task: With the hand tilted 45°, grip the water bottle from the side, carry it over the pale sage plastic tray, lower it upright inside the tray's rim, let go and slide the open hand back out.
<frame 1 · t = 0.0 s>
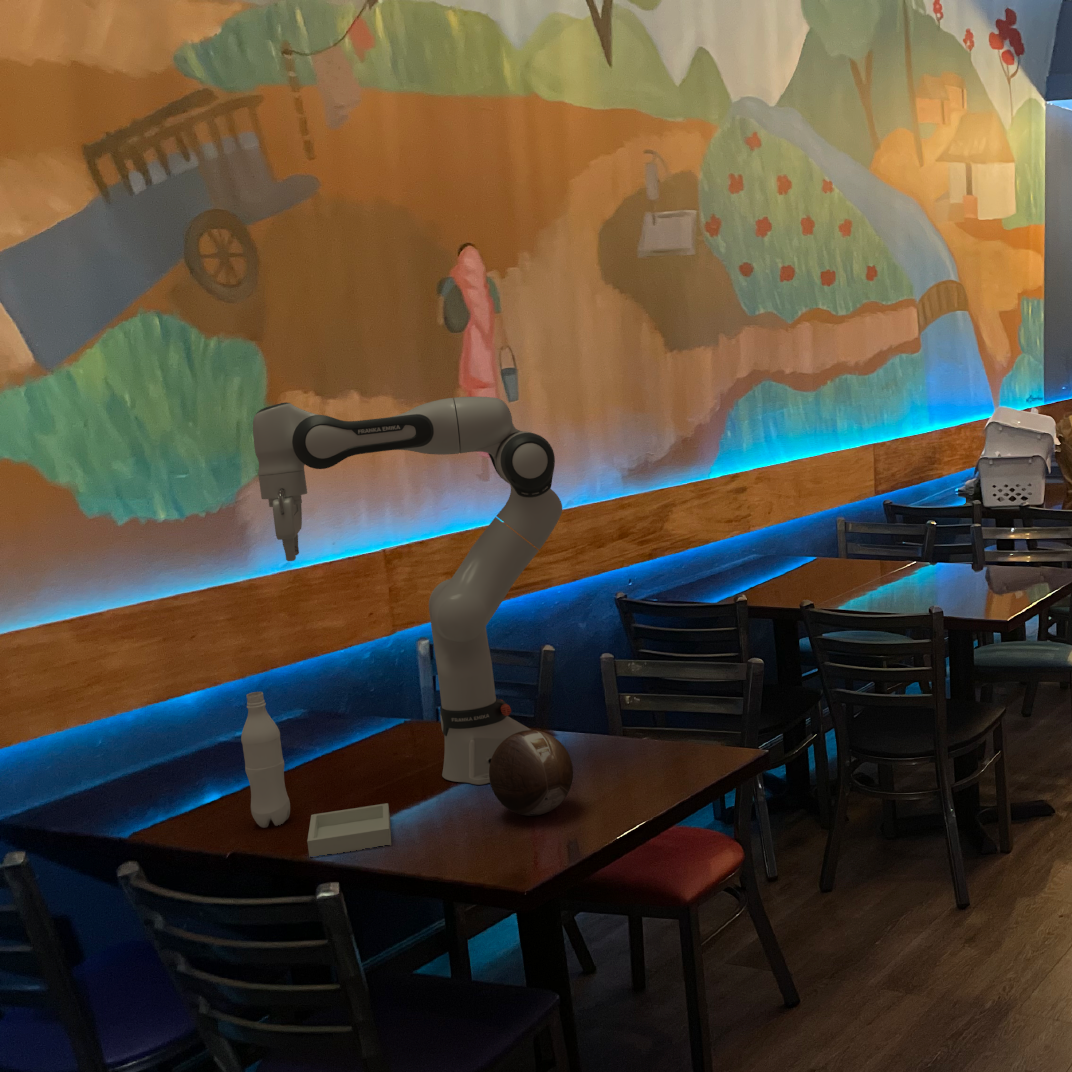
hand: (293, 557, 236), 48 cm above the table, tool pointing down, fingers open, 8 cm apart
water bottle: (273, 824, 228), on the table
tray: (351, 837, 215), on the table
wooden sphere: (535, 814, 217), on the table
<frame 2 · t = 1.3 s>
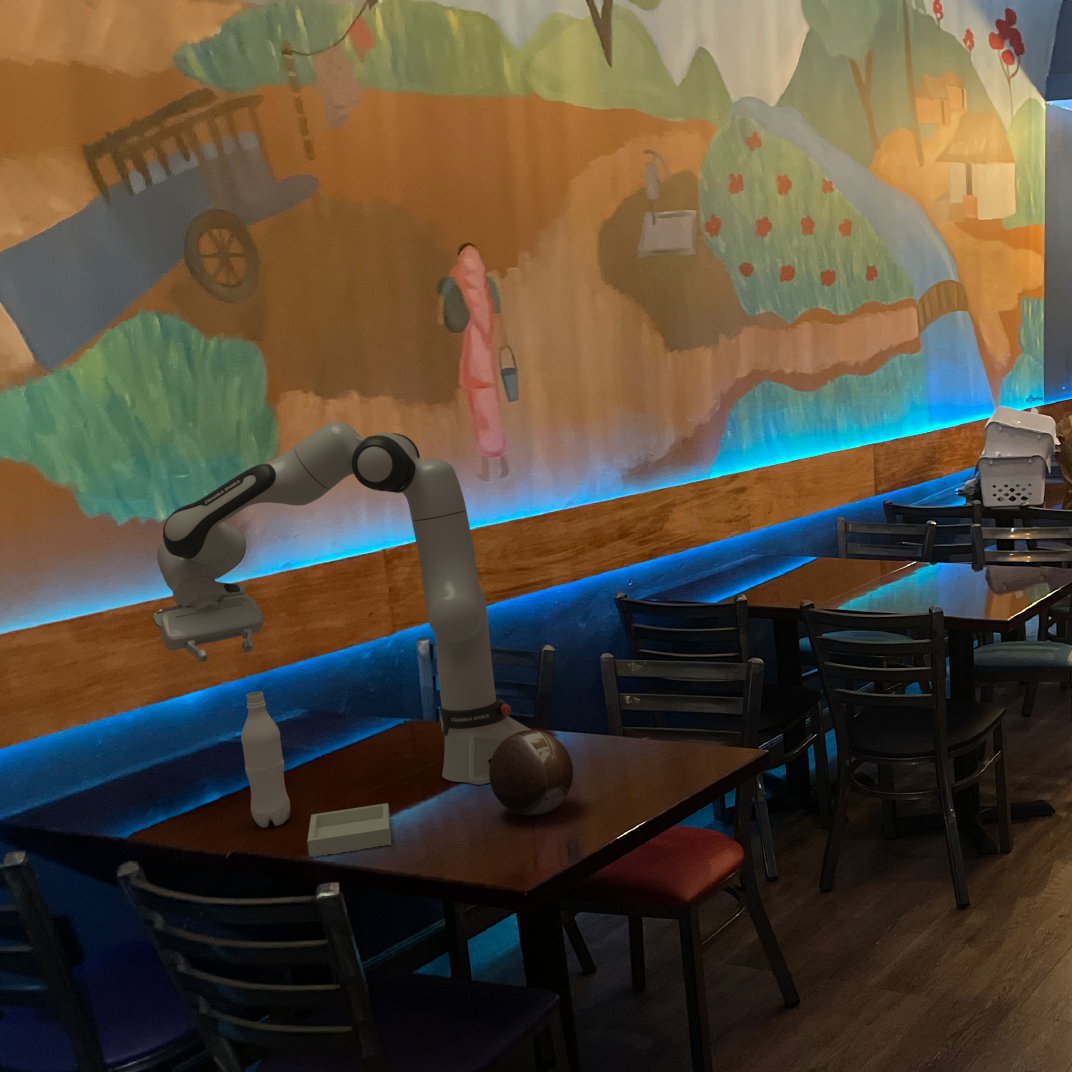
hand: (226, 654, 236), 31 cm above the table, tool tilted 45°, fingers open, 8 cm apart
nothing on the table moved.
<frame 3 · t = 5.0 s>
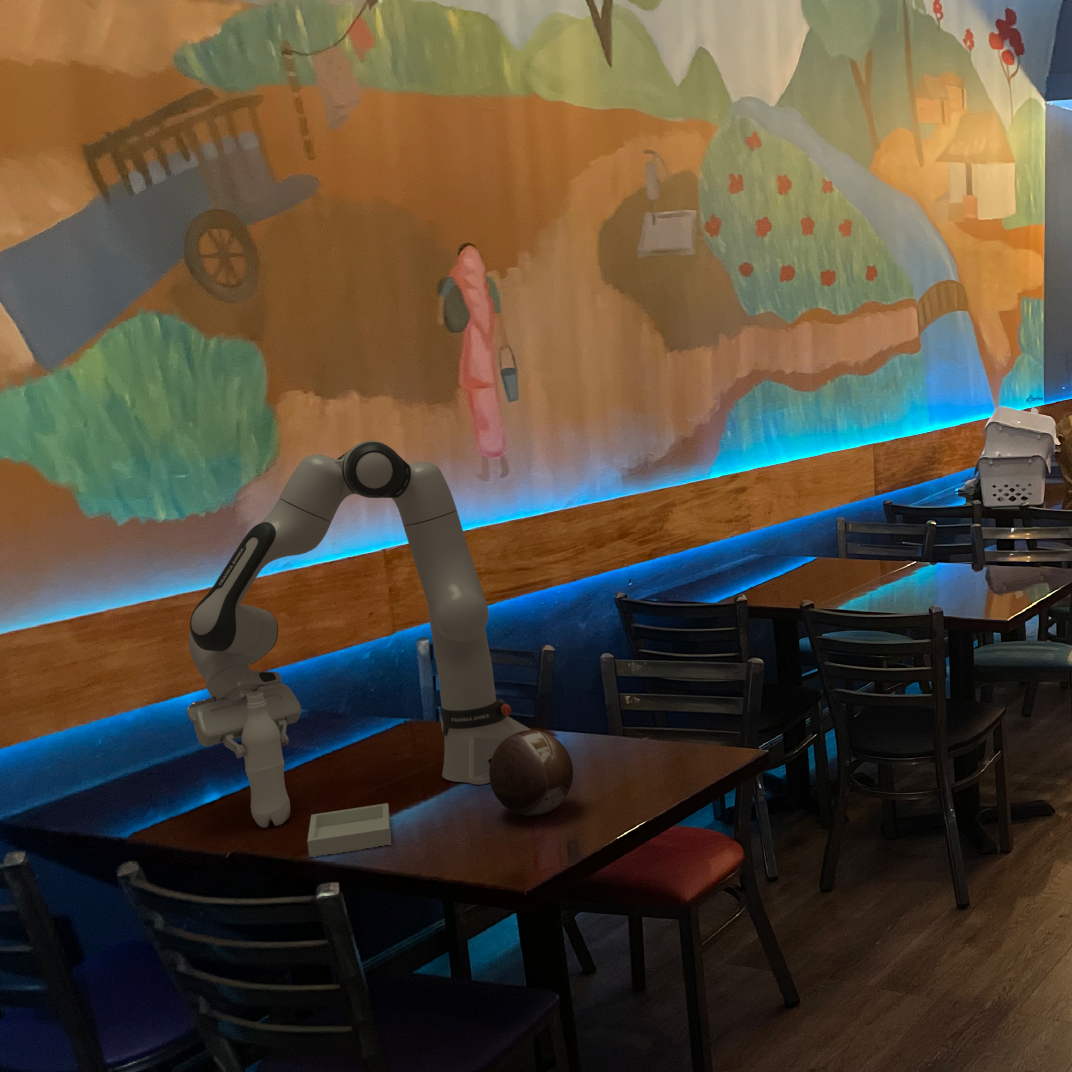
hand: (263, 749, 225), 14 cm above the table, tool tilted 45°, fingers closed on water bottle, 7 cm apart
water bottle: (273, 824, 228), on the table, touching gripper
everything else where it was.
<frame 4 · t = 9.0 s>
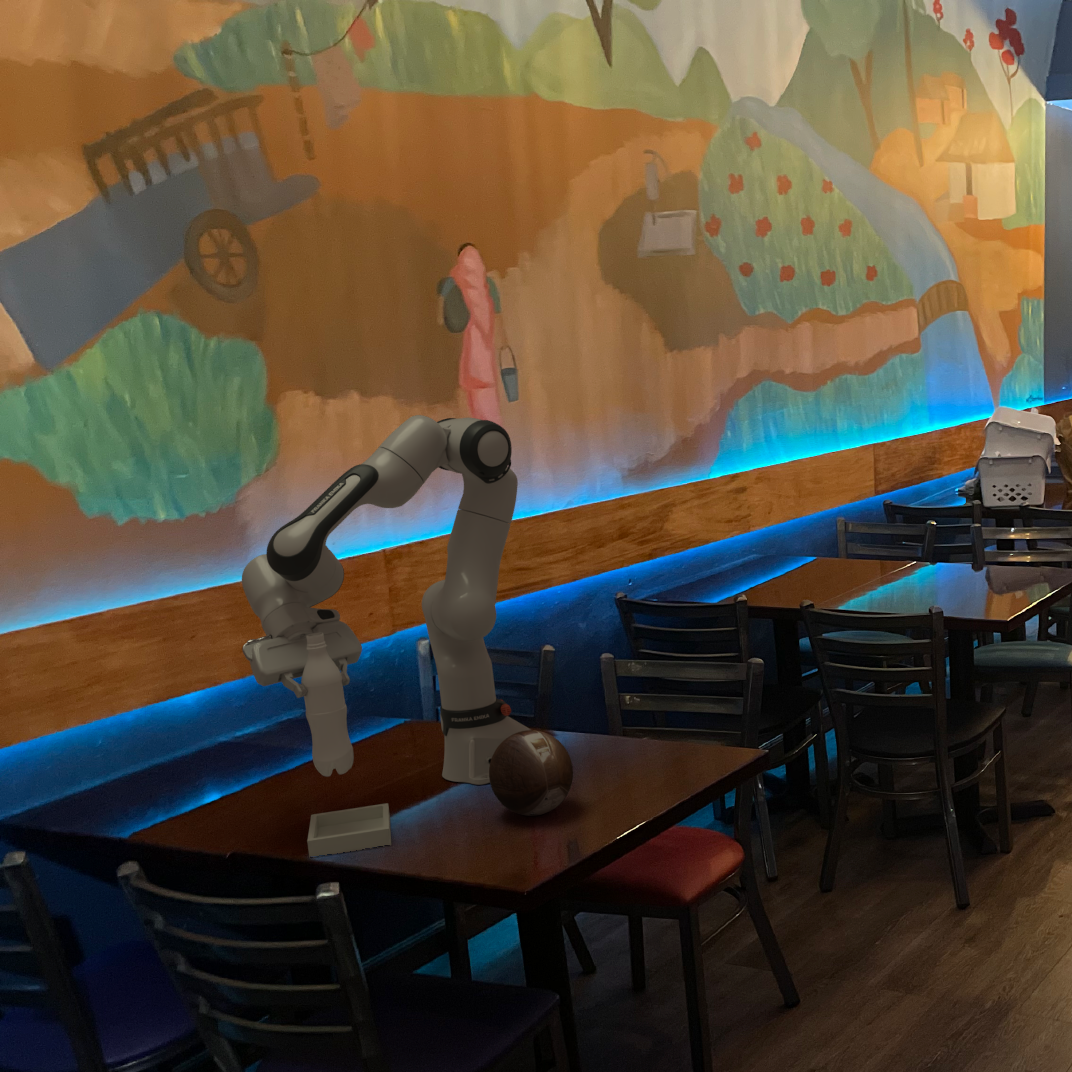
hand: (324, 689, 213), 27 cm above the table, tool tilted 45°, fingers closed on water bottle, 7 cm apart
water bottle: (335, 773, 215), point 12 cm above the table, touching gripper
everything else where it was.
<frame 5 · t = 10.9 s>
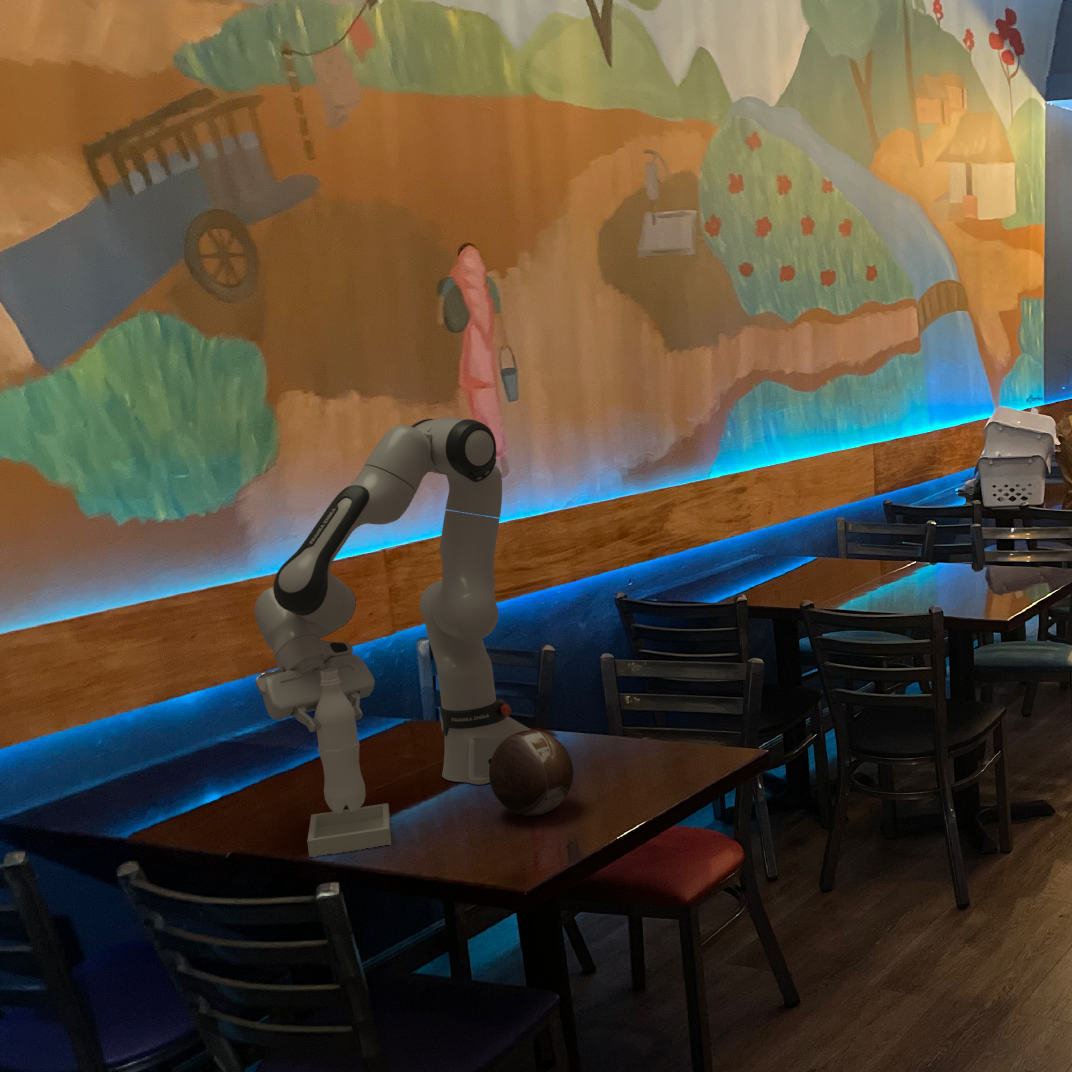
hand: (337, 723, 212), 21 cm above the table, tool tilted 45°, fingers closed on water bottle, 7 cm apart
water bottle: (347, 809, 214), point 5 cm above the table, touching gripper
everything else where it was.
when the fingers open (16 cm above the table, at t = 12.6 s): water bottle stays where it is, resting on tray.
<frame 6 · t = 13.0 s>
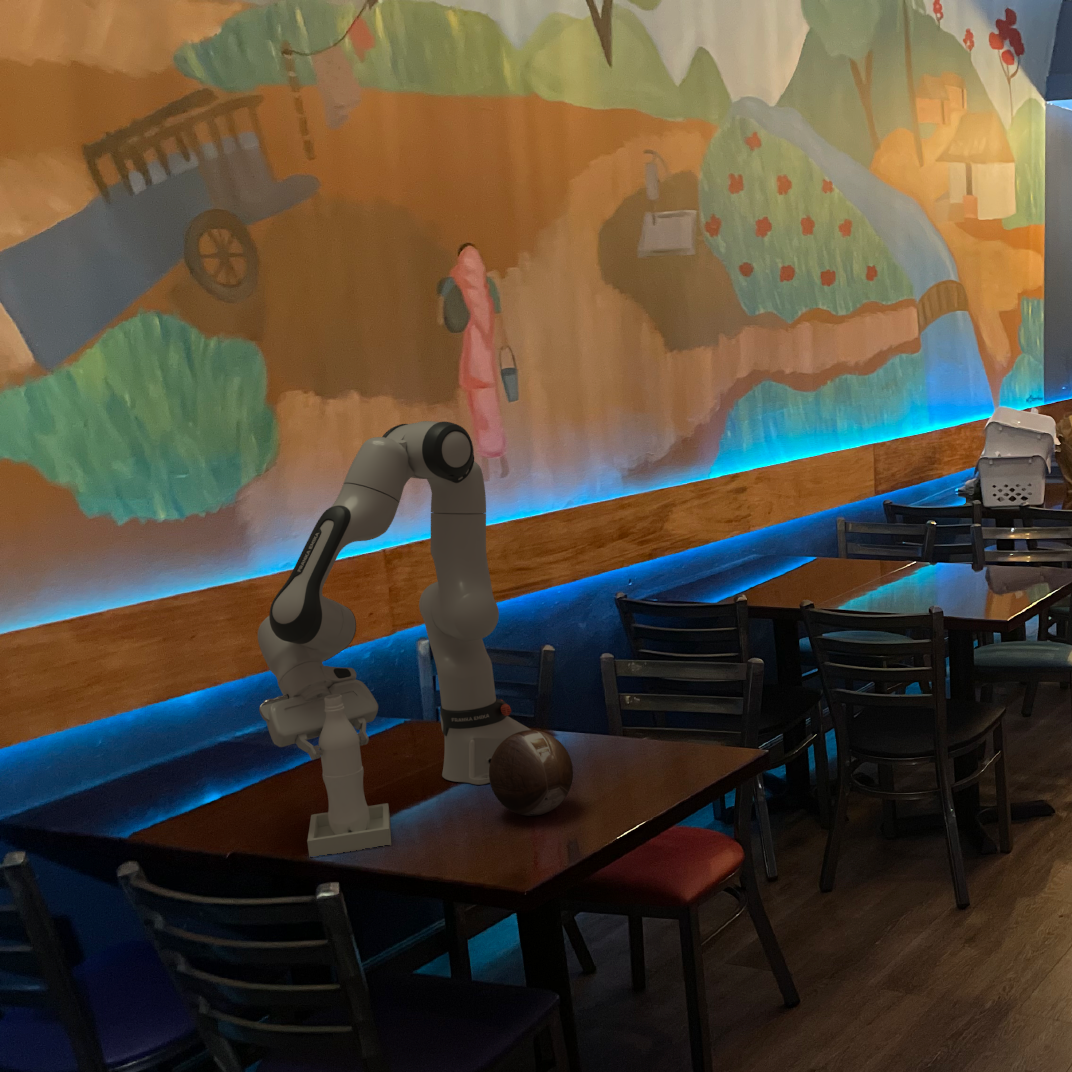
hand: (341, 750, 212), 16 cm above the table, tool tilted 45°, fingers open, 8 cm apart
water bottle: (351, 834, 214), point 1 cm above the table, touching tray
everything else where it was.
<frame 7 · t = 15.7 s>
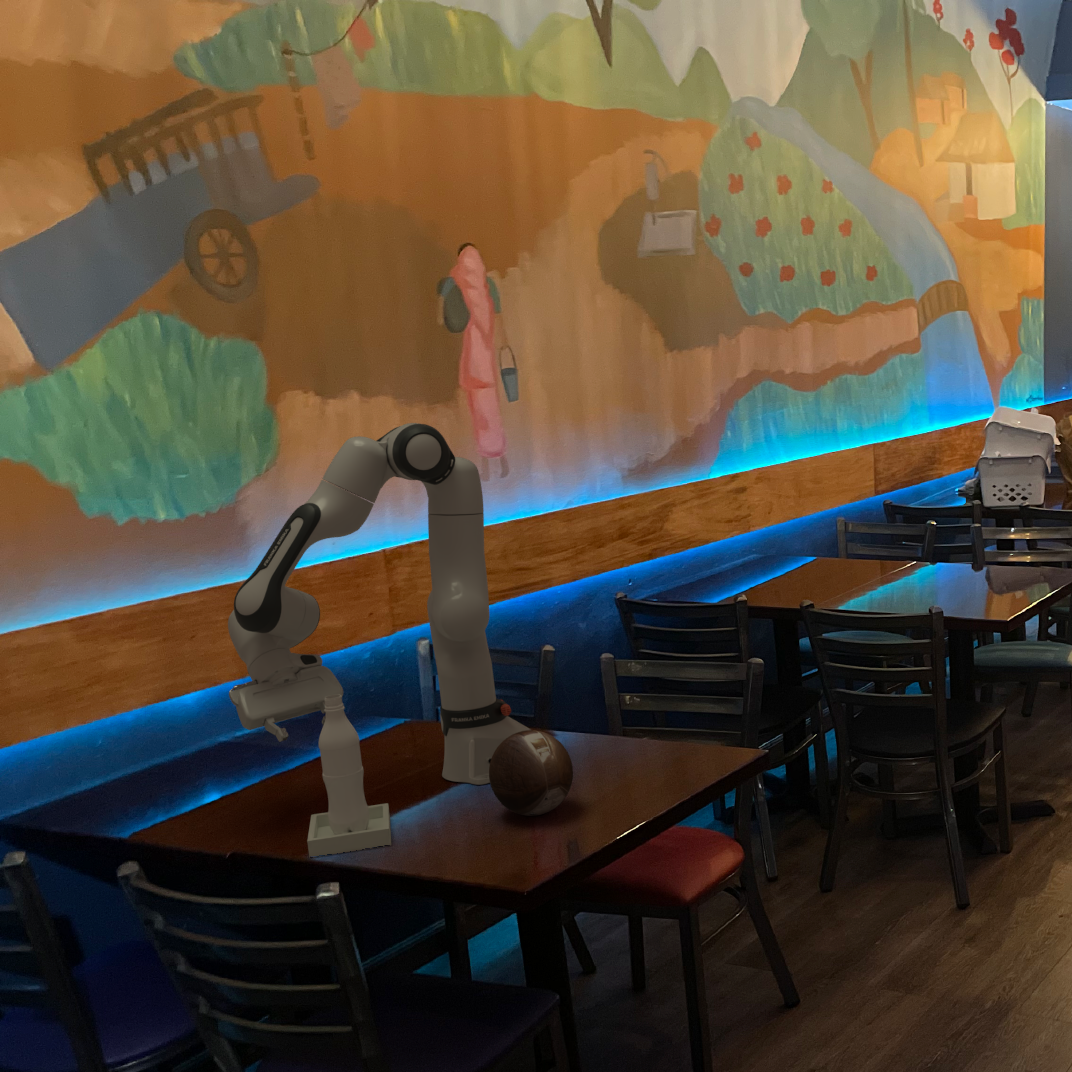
hand: (307, 732, 223), 17 cm above the table, tool tilted 45°, fingers open, 8 cm apart
nothing on the table moved.
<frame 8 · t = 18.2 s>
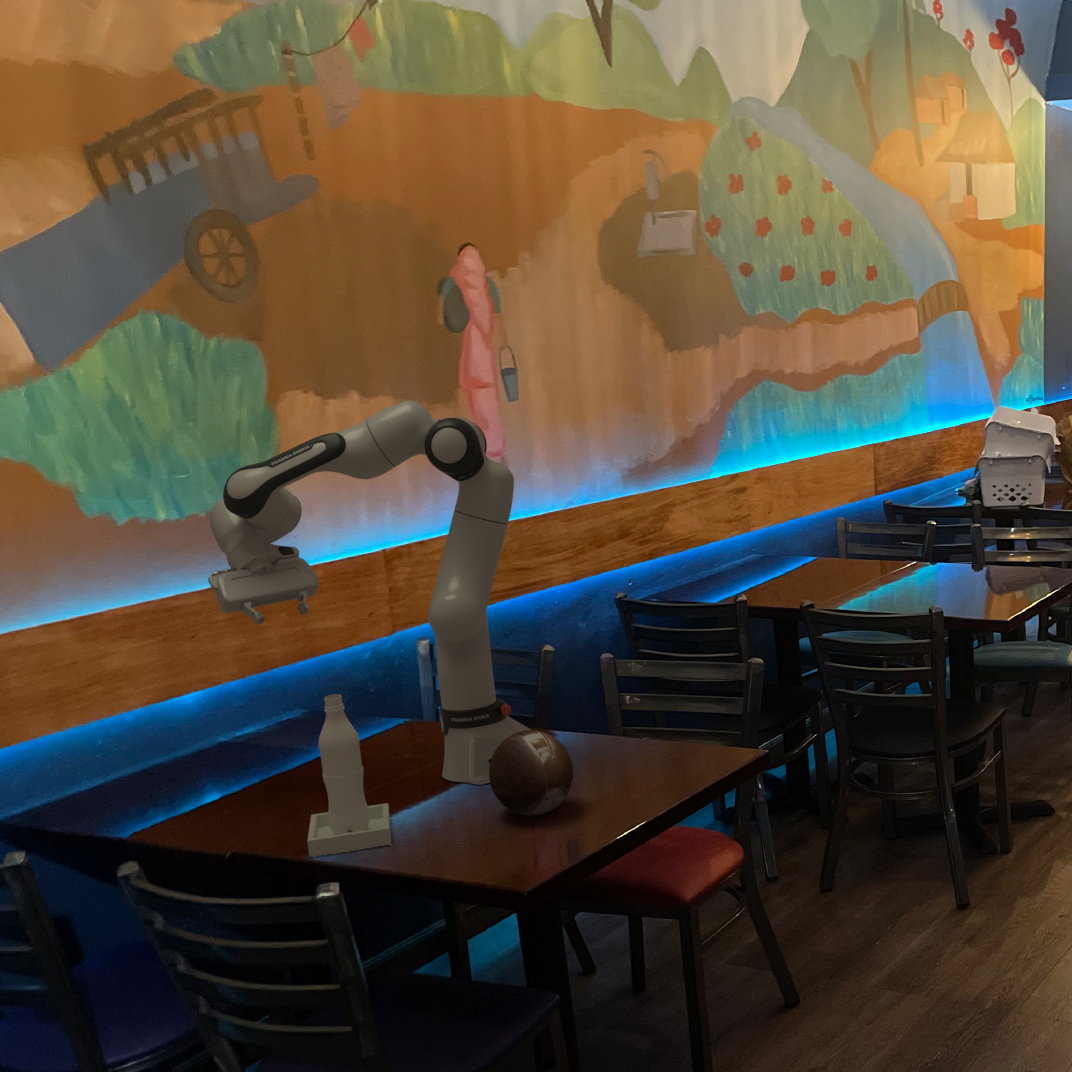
hand: (283, 616, 232), 37 cm above the table, tool tilted 45°, fingers open, 8 cm apart
nothing on the table moved.
at the end: water bottle inside the target area on the tray (0.2 cm from its centre), point 0.6 cm above the tray's base; water bottle tilted 0°; the gripper is holding nothing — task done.
